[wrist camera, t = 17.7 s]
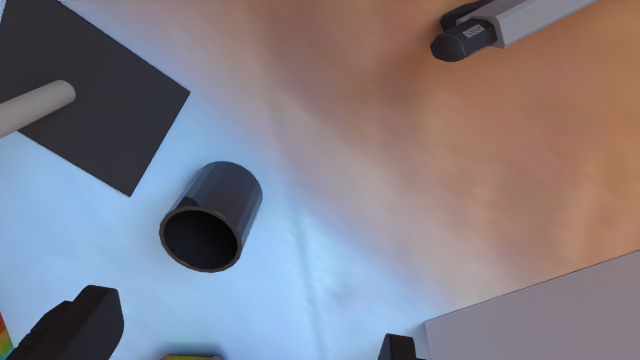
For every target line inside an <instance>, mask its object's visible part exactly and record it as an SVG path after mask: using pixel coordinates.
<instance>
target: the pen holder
mask: <svg viewBox="0 0 640 360" xmlns="http://www.w3.org/2000/svg"><path fill="white" fill-rule="evenodd" d="M261 202H262V191H261V188H260V185H259V183H258V181H257V180H256V178H255V177H254V176H253V175H252V174H251V173H250V172H249V171H248V170H246V169H245V168H243V167H242V166H239V165H237V164H234V163H230V162H213V163H210V164H208V165H206V166H204V167H203V168H202V169H200V170H199V171H198V173H197V174H196V175H195V177H194V178H193V179H192V181H191V182H190V183H189V185H188V186H187V187H186V189H185V190H184V191H183V193H182V194H181V195H180V197H179V198H178V199H177V201H176V202H175V203H174V205H173V206H172V207H171V209H170V210H169V211H168V213H167V214H166V215H165V217H164V218H163V220H162V221H161V223H160V229H159V236H160V240H161V243H162V245H163V247H164V248H165V250H166V252H167V253H168V254H169V255H170V256H171V257H172V258H173V259H174V260H175V261H176V262H178V263H180V264H181V265H183V266H185V267H187V268H189V269H192V270H195V271H199V272H208V273H214V272H220V271H224V270H226V269H228V268H230V267H232V266H233V265H234V264H235V263H236V262H237V261H238V259H239V258H240V256H241V253H242V251H243V248H244V246H245V243H246V241H247V238H248V236H249V233H250V231H251V228H252V226H253V223H254V221H255V218H256V216H257V213H258V211H259V208H260V205H261Z"/></svg>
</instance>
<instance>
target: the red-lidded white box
mask: <svg viewBox="0 0 640 360" xmlns="http://www.w3.org/2000/svg"><path fill="white" fill-rule="evenodd" d="M425 327H426V333H427V339H428V345H429V350H430V356H431V360H640V251H637V252H634V253H630V254H627V255H624V256H621V257H618V258H615V259H612V260H609V261H606V262H603V263H600V264H597V265H594V266H591V267H588V268H585V269H582V270H579V271H576V272H573V273H570V274H567V275H564V276H561V277H558V278H555V279H552V280H549V281H546V282H543V283H540V284H537V285H534V286H531V287H528V288H524V289H521V290H518V291H515V292H512V293H509V294H506V295H503V296H500V297H497V298H494V299H491V300H488V301H485V302H482V303H479V304H476V305H473V306H470V307H467V308H464V309H461V310H458V311H455V312H452V313H449V314H446V315H443V316H440V317H437V318H434V319H431V320H428V321H425Z"/></svg>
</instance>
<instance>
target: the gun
mask: <svg viewBox="0 0 640 360" xmlns="http://www.w3.org/2000/svg"><path fill="white" fill-rule="evenodd" d="M597 1H599V0H480V1H476V2H473V3H469V4H466V5H462V6H460V7H458V8H457V9H455V10H453V11H451V12H449V13H447V14H445V15H443V16H442V18H441V20H440V23H441V26H442V29H443V33H441V34H439V35H438V36H437V37H436V38H435V39H434V40H433V42H432V43H431V45H430V48H431V51H432V54H433V56H434V57H435V58H437V59H440V60H443V61H446V62H456V61H459V60H462V59H464V58H466V57H468V56H470V55H472V54H474V53H476V52H478V51H480V50H482V49H484V48H486V47H488V46H492V47H497V48H502V49H504V48H506V47H508V46H510V45H512V44H514V43H516V42H518V41H520V40H522V39H524V38H526V37H528V36H530V35H532V34H534V33H536V32H538V31H540V30H542V29H544V28H546V27H548V26H550V25H552V24H554V23H556V22H558V21H560V20H562V19H564V18H566V17H568V16H570V15H571V14H573V13H575V12H577V11H579V10H581V9H583V8H585V7H587V6H589V5H591V4H593V3H595V2H597Z"/></svg>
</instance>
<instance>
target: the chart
mask: <svg viewBox="0 0 640 360" xmlns="http://www.w3.org/2000/svg"><path fill="white" fill-rule="evenodd" d="M13 350H14V349H13V346H12V343H11V341H10V338H9V335H8V332H7V330H6V327H5V324H4V322H3V319H2V316H1V313H0V360H5V359H6V358H7V356H8V355H9V354H10V353H11V352H12V351H13Z"/></svg>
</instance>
